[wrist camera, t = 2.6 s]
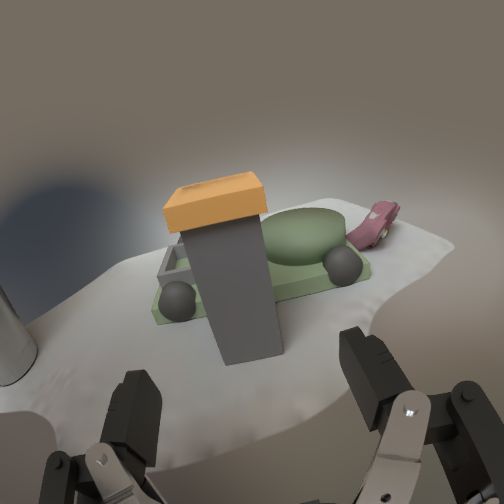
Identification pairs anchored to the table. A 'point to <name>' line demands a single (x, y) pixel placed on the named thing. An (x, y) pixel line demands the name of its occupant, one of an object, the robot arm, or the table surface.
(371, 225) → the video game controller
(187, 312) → the toy lawn mower
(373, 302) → the table surface
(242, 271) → the orange-capped grey post
